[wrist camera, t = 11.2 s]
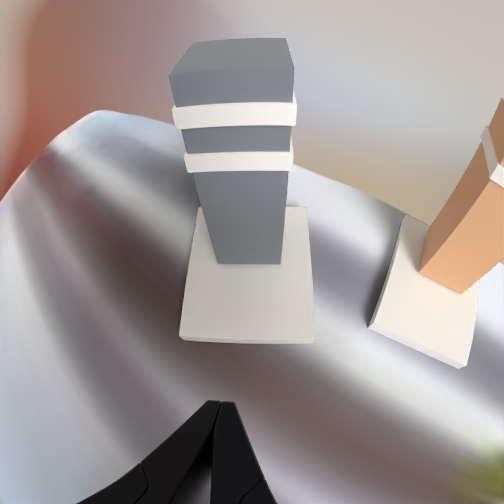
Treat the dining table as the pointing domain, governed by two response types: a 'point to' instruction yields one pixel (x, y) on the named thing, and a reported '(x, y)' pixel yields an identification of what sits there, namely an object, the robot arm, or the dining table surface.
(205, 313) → the base plate
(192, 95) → the post two bands
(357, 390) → the dining table surface
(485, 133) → the post one band
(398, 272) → the base plate
